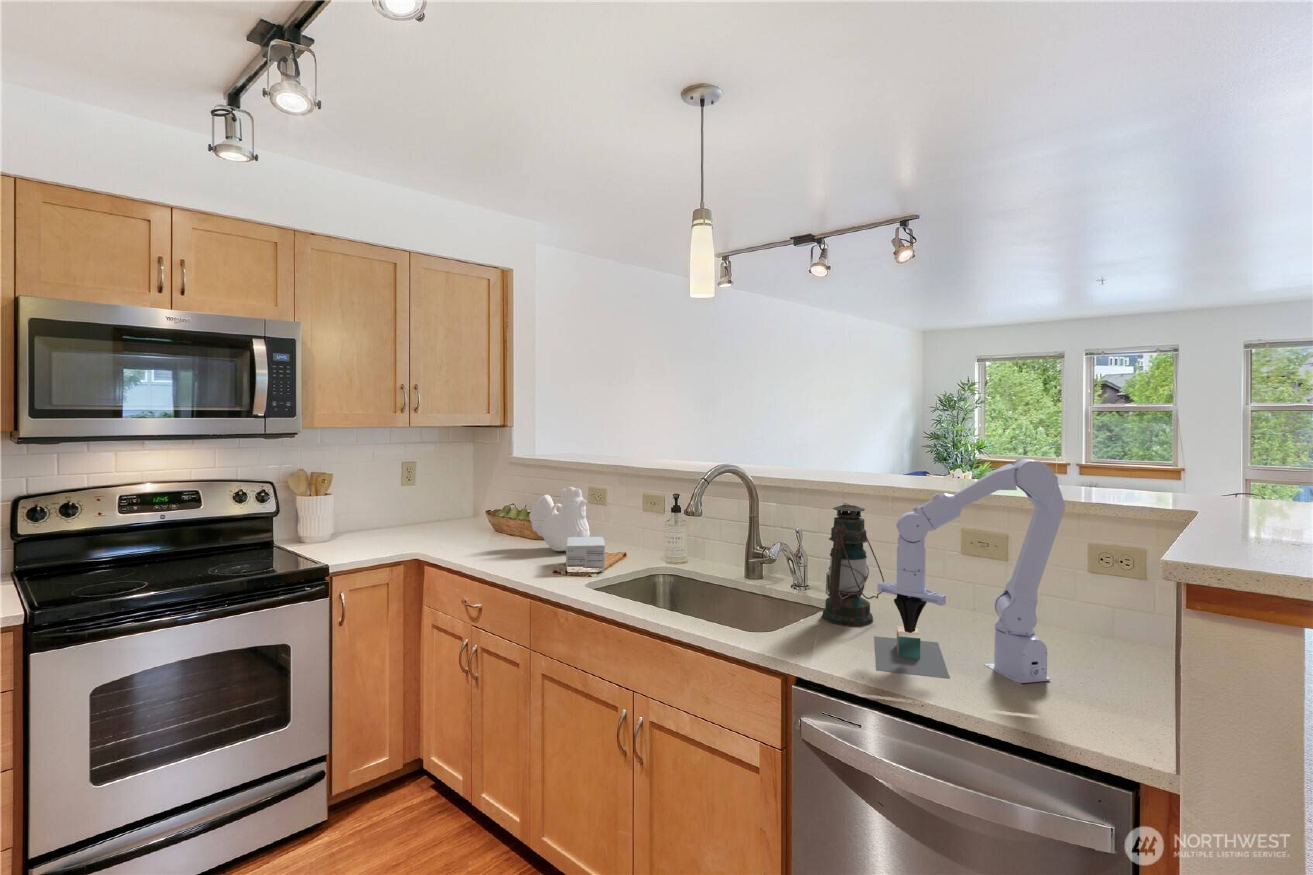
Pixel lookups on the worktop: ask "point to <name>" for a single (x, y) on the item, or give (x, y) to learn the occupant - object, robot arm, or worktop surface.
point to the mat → (910, 659)
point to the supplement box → (585, 552)
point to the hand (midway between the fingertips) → (909, 631)
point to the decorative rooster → (560, 518)
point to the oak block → (908, 643)
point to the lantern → (848, 570)
